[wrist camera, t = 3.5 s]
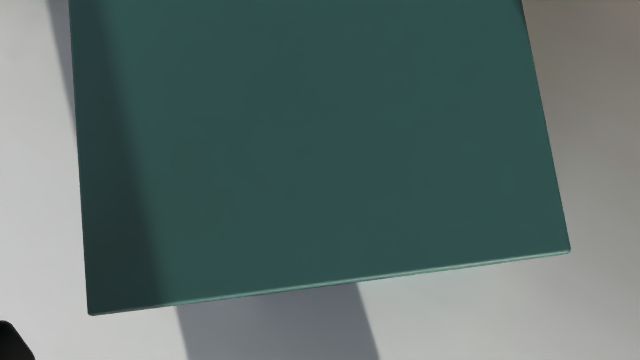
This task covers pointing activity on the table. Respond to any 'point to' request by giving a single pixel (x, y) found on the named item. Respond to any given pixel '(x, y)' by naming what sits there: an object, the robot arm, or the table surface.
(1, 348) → the robot arm
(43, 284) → the table surface
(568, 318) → the table surface
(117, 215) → the teal box
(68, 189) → the table surface
